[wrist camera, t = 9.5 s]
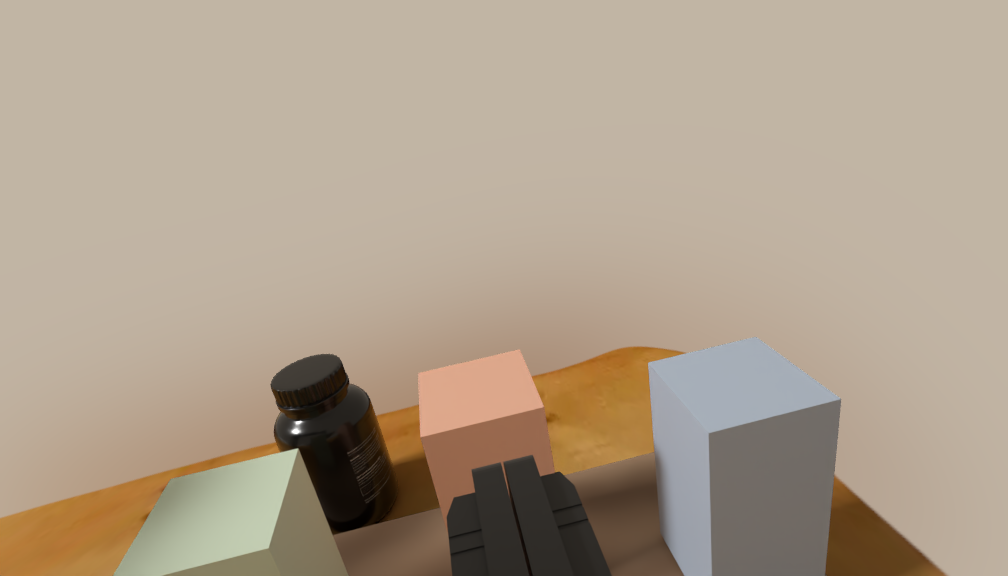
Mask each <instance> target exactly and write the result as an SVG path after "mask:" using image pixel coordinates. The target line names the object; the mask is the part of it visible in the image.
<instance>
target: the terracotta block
mask: <svg viewBox="0 0 1008 576" xmlns="http://www.w3.org/2000/svg"><path fill="white" fill-rule="evenodd" d="M418 382H419V409H420V436H421V441H422V444H423V448H424V451H425V455H426V458H427V462H428V466H429V469H430V473H431V476H432V480H433V483H434V487H435V491H436V494H437V498H438V501H439V505H440V508H441V512H442V516H443V519H444V523H445V526H446V530H447V533H448V528H447V514H448V512H449V509H450V506H451V504H452V501H453V498H454V497H458V496H462V495H466V494H470V493H474V492H475V488H474V482H473V477H472V470H471V469H475V468H479V467H483V466H487V465H491V464H495V463H499V462H501V465H502V469H503V473H504V477H505V481H506V485H507V480H506V475H505V469H504V464H503V462H504V461H508V460H512V459H516V458H521V457H525V456H529V455H533V457H534V459H535V462H536V465H537V468H538V471H539V474H540V476H544V475H548V474H552V473H555V470H554V464H553V458H552V452H551V446H550V440H549V434H548V428H547V422H546V416H545V410H544V406H543V403H542V401H541V399H540V396H539V394H538V392H537V389H536V387H535V384H534V382H533V380H532V377H531V375H530V373H529V370H528V368H527V366H526V363H525V361H524V358H523V356H522V354H521V351H520V349H519V350H514V351H510V352H506V353H502V354H497V355H493V356H489V357H485V358H480V359H476V360H472V361H468V362H464V363H459V364H455V365H450V366H446V367H442V368H437V369H434V370H429V371H425V372H421V373H418ZM507 489H508V485H507ZM508 493H509V490H508ZM509 497H510V496H509Z"/></svg>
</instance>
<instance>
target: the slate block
mask: <svg viewBox="0 0 1008 576" xmlns="http://www.w3.org/2000/svg"><path fill="white" fill-rule="evenodd" d="M648 368H649V381H650V395H651V409H652V423H653V437H654V451H655V465H656V478H657V492H658V506H659V520H660V533H661V535H662V537H663V539H664V540H665V542H666V544H667V546H668V547H669V549H670V551H671V553H672V555H673V556H674V558H675V560H676V562H677V563H678V565H679V567H680V569H681V571H682V572H683V574H684V576H825V569H826V558H827V547H828V536H829V526H830V515H831V504H832V493H833V482H834V472H835V461H836V450H837V439H838V428H839V417H840V406H841V399H840V398H839V397H838V396H836V395H835V394H834V393H832V392H831V391H830V390H828V389H827V388H825V387H824V386H823V385H821V384H820V383H818V382H817V381H816V380H814V379H813V378H812V377H810V376H809V375H808V374H806V373H805V372H803V371H802V370H801V369H799V368H798V367H797V366H795V365H794V364H792V363H791V362H790V361H788V360H787V359H786V358H784V357H783V356H781V355H780V354H779V353H777V352H776V351H775V350H773V349H772V348H771V347H769V346H768V345H766V344H765V343H763V342H762V341H761V340H760V339H758V338H757V337H753V338H749V339H745V340H741V341H737V342H732V343H728V344H724V345H720V346H716V347H711V348H707V349H703V350H699V351H695V352H691V353H687V354H682V355H678V356H674V357H670V358H666V359H662V360H658V361H653V362H649V363H648Z"/></svg>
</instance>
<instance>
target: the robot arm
mask: <svg viewBox="0 0 1008 576" xmlns="http://www.w3.org/2000/svg"><path fill="white" fill-rule="evenodd" d="M503 464H504V469H505V475H506V480H507V485H508V489H507V485H506V481H505V477H504V473H503V469H502V465H501V462H499V463H495V464H491V465H487V466H483V467H479V468H475V469H471V470H472V477H473V482H474V488H475V492H474V493H470V494H466V495H462V496H458V497H454V498H453V501H452V504H451V506H450V509H449V512H448V514H447V528H448V537H449V548H450V556H451V569H452V576H612V575H611V572H610V570H609V567H608V565H607V563H606V560H605V558H604V555H603V553H602V551H601V548H600V546H599V543H598V541H597V538H596V536H595V534H594V531H593V529H592V526H591V524H590V522H589V520H588V517H587V514H586V512H585V509H584V507H583V506H582V502H581V500H580V497H579V495H578V492H577V490H576V488H575V485H574V484H573V483H571V482H570V481H569V480H568V479H567V478H566V477H565V476H564V475H563V474H562V473H560V472H556V473H552V474H548V475H544V476H540V474H539V471H538V468H537V465H536V462H535V459H534V457H533V455H529V456H525V457H521V458H516V459H512V460H508V461H504V462H503ZM508 490H509V493H508ZM509 496H510V497H509Z"/></svg>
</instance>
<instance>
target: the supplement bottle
mask: <svg viewBox="0 0 1008 576" xmlns="http://www.w3.org/2000/svg"><path fill="white" fill-rule="evenodd" d="M271 389H272V392H273V394H274V396H275V399H276V404H277V406H278V409H279V410H280V411H281V412H280V413H279V415H278V417H277V419H276V422H275V425H274V437H275V440H276V443H277V446H278V448H279V450H280V453H281V452H285V451H289V450H293V449H297V448H298V449H299V451H300V454H301V456H302V459H303V461H304V464H305V466H306V469H307V471H308V474H309V477H310V479H311V482H312V484H313V487H314V489H315V492H316V494H317V497H318V499H319V502H320V505H321V507H322V510H323V512H324V515H325V517H326V520H327V522H328V525H329V527H330V530H331V532H332V535H336V534H340V533H343V532H347V531H351V530H355V529H359V528H363V527H367V526H371V525H374V524H375V523H376V522H378V521H379V520H380V519H381V518H382V517H383V516H384V515H385V514H386V513H387V512H388V511H389V510H390V508H391V507H392V505H393V503H394V502H395V499H396V496H397V493H398V481H397V477H396V474H395V471H394V468H393V465H392V462H391V459H390V456H389V453H388V450H387V447H386V444H385V441H384V438H383V435H382V432H381V429H380V426H379V423H378V420H377V418H376V415H375V412H374V409H373V406H372V403H371V400H370V398H369V396H368V395H367V393H366V392H365V391H364V390H363V389H361V388H359V387H358V386H356V385H353V384H349V378H348V375H347V374H346V373H345V370H344V367H343V364H342V362H341V360H340V358H339V357H337V356H335V355H332V354H321V355H314V356H310V357H306V358H303V359H301V360H298V361H296V362H294V363H292V364H290V365H288V366H286V367H285V368H284V369H282V370H281V371H280V372H278V373H277V374H276V375H275V376H274V377H273V379H272V381H271Z"/></svg>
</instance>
